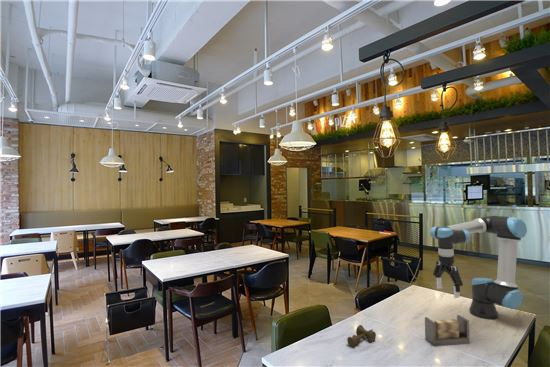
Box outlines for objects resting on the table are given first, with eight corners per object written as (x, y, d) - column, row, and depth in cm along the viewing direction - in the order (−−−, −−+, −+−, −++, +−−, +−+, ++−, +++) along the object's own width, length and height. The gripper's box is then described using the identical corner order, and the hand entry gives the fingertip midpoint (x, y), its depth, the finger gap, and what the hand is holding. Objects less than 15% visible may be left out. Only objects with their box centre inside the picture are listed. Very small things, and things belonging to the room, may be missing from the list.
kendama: (343, 344, 156) (365, 331, 168) (358, 352, 148) (380, 338, 160) (343, 333, 155) (365, 321, 168) (357, 341, 148) (380, 327, 160)
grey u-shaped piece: (459, 336, 160) (459, 314, 160) (469, 343, 153) (468, 320, 153) (425, 339, 158) (424, 317, 158) (433, 346, 151) (433, 323, 151)
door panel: (455, 337, 158) (454, 319, 158) (459, 340, 155) (458, 321, 155) (434, 339, 157) (434, 320, 157) (438, 342, 153) (438, 323, 154)
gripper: (425, 251, 175) (427, 285, 175) (456, 261, 150) (458, 302, 150) (436, 250, 176) (438, 284, 176) (469, 260, 151) (471, 300, 151)
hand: (447, 292), depth 163 cm, fingers open, 13 cm apart
